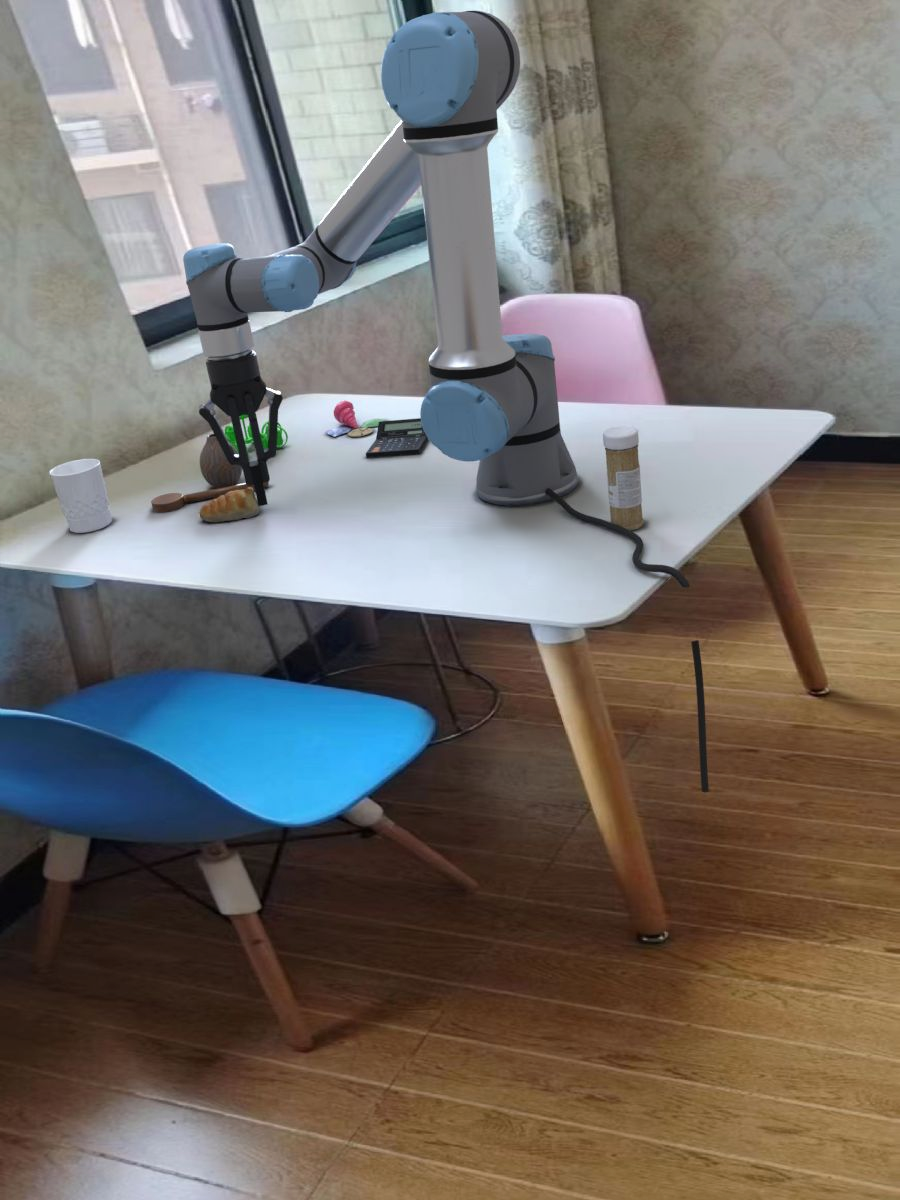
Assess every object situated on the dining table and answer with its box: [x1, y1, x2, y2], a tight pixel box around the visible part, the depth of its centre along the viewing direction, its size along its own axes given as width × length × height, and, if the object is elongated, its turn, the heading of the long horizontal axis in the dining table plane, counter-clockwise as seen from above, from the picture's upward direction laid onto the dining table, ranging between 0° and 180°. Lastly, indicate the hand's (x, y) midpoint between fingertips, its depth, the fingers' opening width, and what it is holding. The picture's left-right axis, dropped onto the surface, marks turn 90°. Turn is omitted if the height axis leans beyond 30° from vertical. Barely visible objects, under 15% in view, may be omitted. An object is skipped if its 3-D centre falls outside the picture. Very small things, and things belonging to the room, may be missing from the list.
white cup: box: [48, 458, 113, 534], centre depth 184 cm, size 8×8×10 cm
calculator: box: [365, 417, 429, 459], centre depth 202 cm, size 9×12×3 cm
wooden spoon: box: [150, 481, 270, 513], centre depth 190 cm, size 19×5×1 cm, turn 103°
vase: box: [199, 432, 243, 489], centre depth 194 cm, size 7×7×9 cm
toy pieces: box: [326, 400, 387, 438], centre depth 215 cm, size 12×11×4 cm
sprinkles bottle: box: [602, 425, 645, 531], centre depth 152 cm, size 5×5×13 cm
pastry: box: [198, 487, 260, 524], centre depth 180 cm, size 9×7×4 cm
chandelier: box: [224, 415, 289, 455], centre depth 210 cm, size 15×15×7 cm
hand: (262, 502), depth 180 cm, fingers closed
